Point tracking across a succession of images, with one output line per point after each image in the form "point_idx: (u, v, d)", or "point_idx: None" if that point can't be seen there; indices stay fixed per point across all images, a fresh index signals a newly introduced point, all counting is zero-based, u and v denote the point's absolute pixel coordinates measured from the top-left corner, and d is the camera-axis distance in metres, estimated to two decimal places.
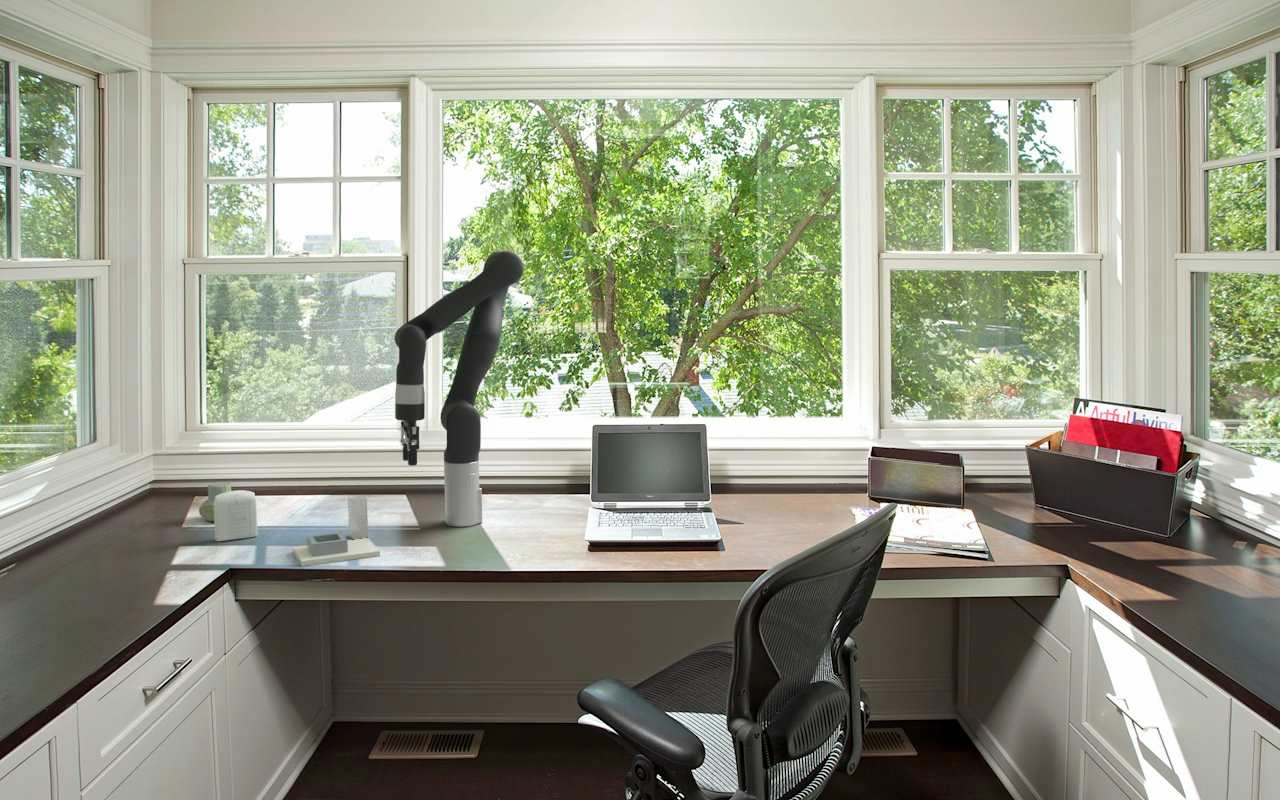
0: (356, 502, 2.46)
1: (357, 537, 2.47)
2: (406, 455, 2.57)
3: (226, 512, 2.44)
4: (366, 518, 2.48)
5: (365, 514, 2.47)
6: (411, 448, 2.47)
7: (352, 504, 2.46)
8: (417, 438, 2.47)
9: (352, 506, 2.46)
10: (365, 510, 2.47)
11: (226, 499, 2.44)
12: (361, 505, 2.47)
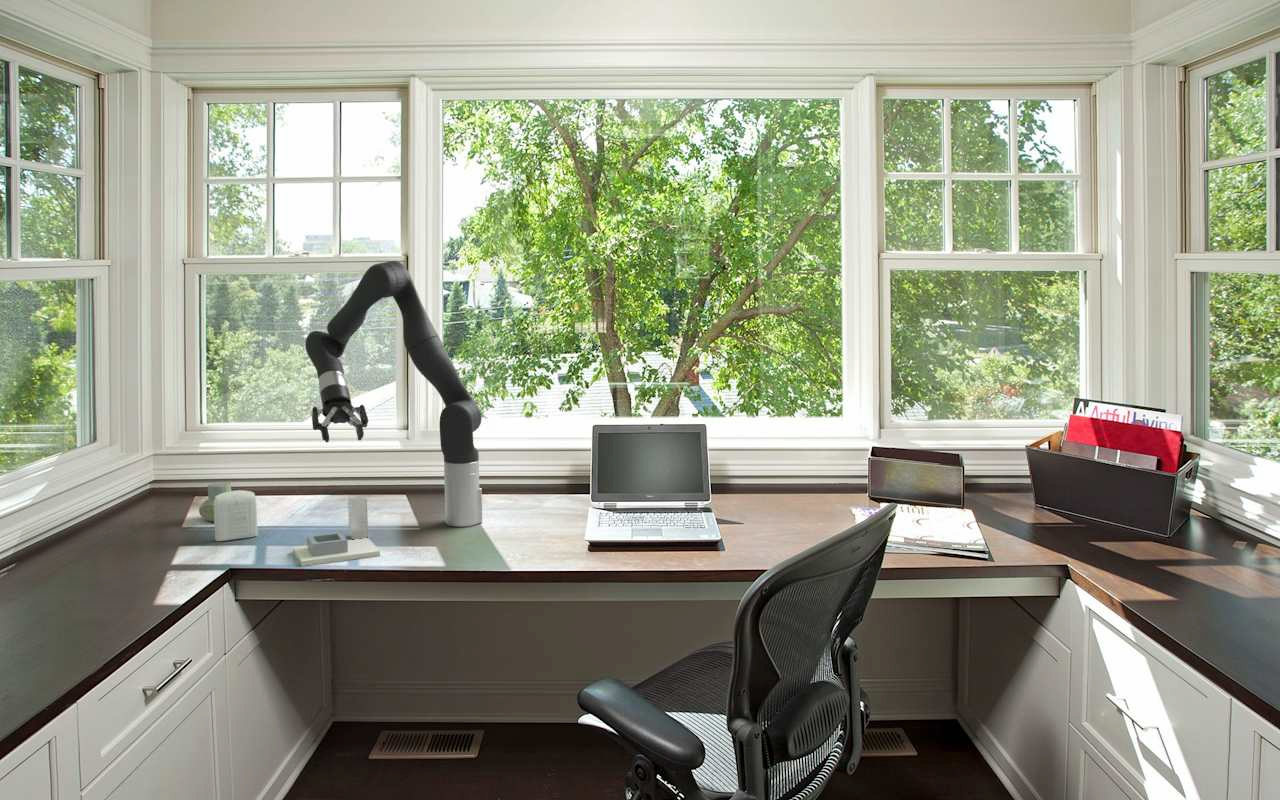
0: (356, 502, 2.46)
1: (357, 537, 2.47)
2: (357, 435, 2.60)
3: (226, 512, 2.44)
4: (366, 518, 2.48)
5: (365, 514, 2.47)
6: (314, 428, 2.57)
7: (352, 504, 2.46)
8: (313, 417, 2.57)
9: (352, 506, 2.46)
10: (365, 510, 2.47)
11: (226, 499, 2.44)
12: (361, 505, 2.47)
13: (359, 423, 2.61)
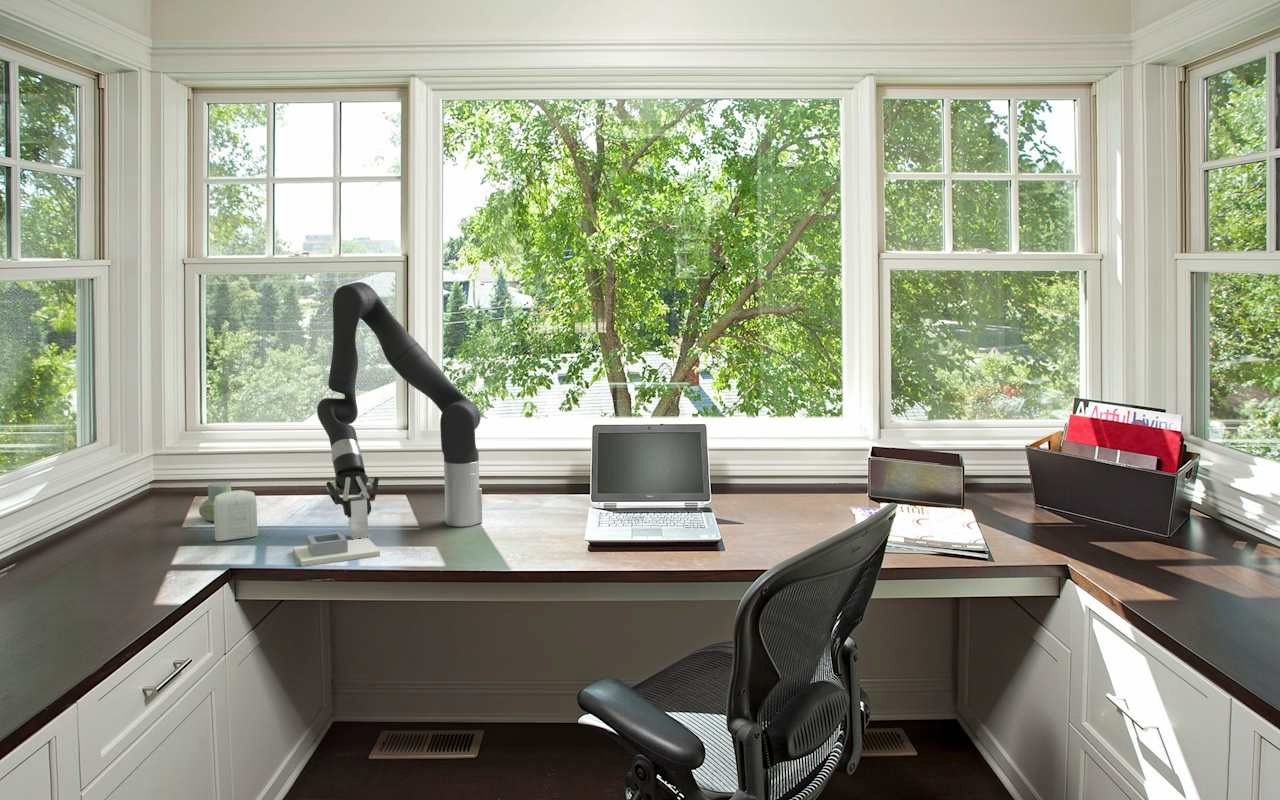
0: (356, 502, 2.46)
1: (357, 537, 2.47)
2: None
3: (226, 512, 2.44)
4: (366, 518, 2.48)
5: (365, 514, 2.47)
6: (336, 502, 2.49)
7: (352, 504, 2.46)
8: (331, 492, 2.48)
9: (352, 506, 2.46)
10: (365, 510, 2.47)
11: (226, 499, 2.44)
12: (361, 505, 2.47)
13: (366, 497, 2.50)
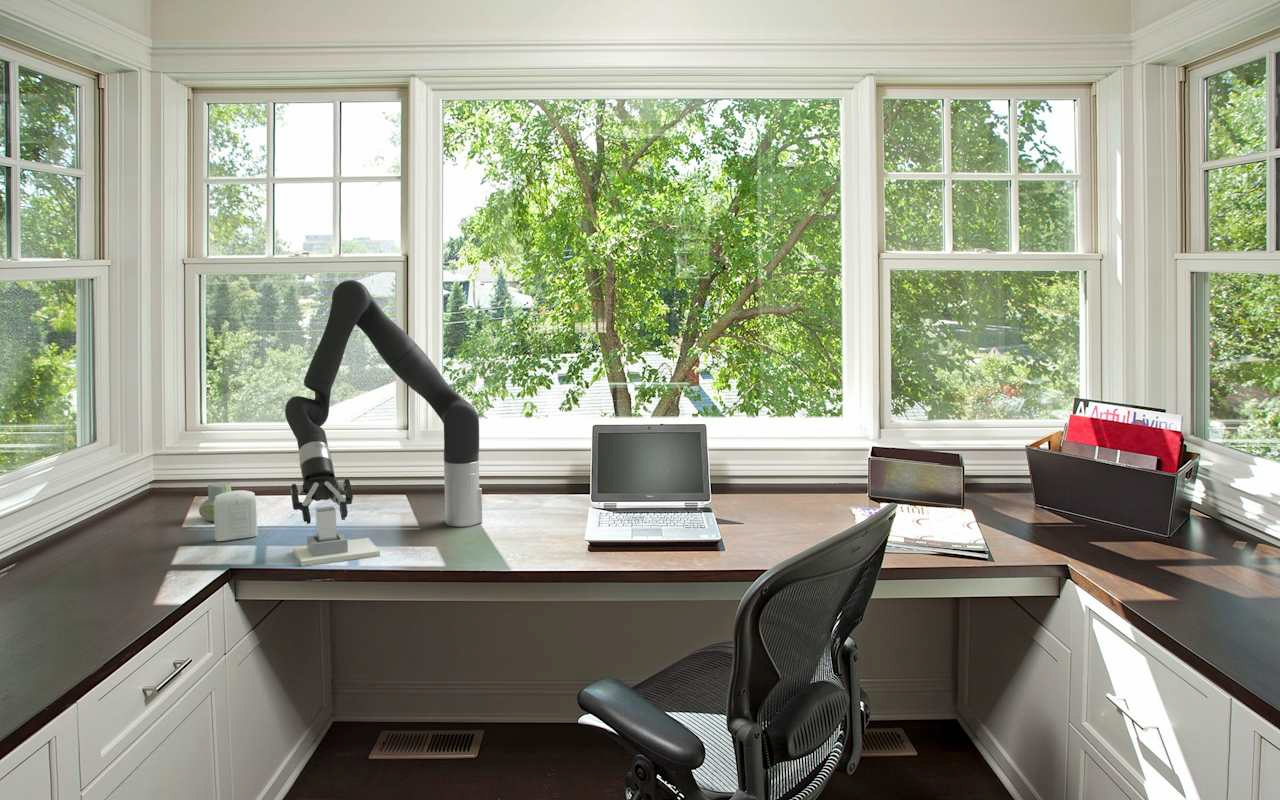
0: (324, 513, 2.30)
1: None
2: (341, 514, 2.34)
3: (226, 512, 2.44)
4: (335, 530, 2.32)
5: (334, 525, 2.31)
6: (294, 508, 2.32)
7: (319, 515, 2.30)
8: (292, 495, 2.32)
9: (319, 517, 2.30)
10: (334, 521, 2.31)
11: (226, 499, 2.44)
12: (329, 516, 2.31)
13: (342, 500, 2.35)
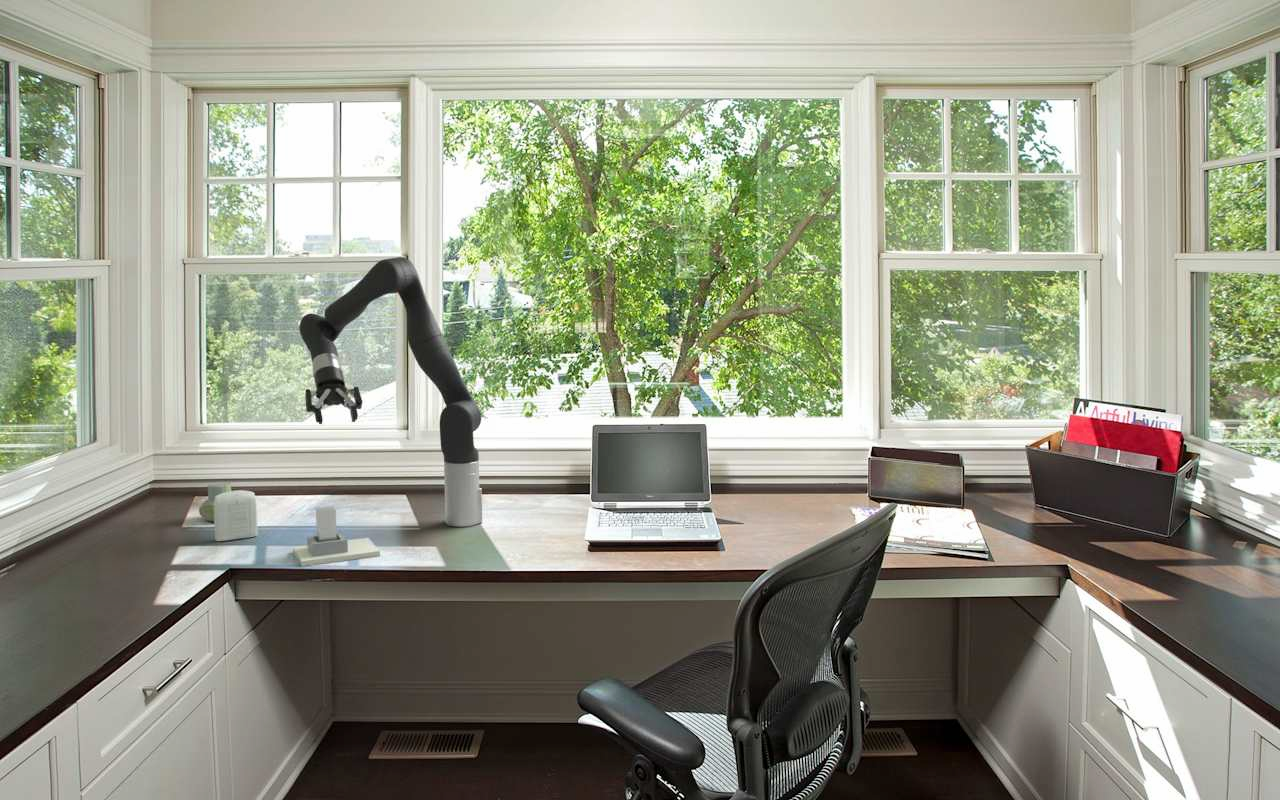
0: (324, 513, 2.30)
1: None
2: (351, 416, 2.58)
3: (226, 512, 2.44)
4: (335, 530, 2.32)
5: (334, 525, 2.31)
6: (307, 410, 2.55)
7: (319, 515, 2.30)
8: (306, 399, 2.55)
9: (319, 517, 2.30)
10: (334, 521, 2.31)
11: (226, 499, 2.44)
12: (329, 516, 2.31)
13: (353, 404, 2.58)
